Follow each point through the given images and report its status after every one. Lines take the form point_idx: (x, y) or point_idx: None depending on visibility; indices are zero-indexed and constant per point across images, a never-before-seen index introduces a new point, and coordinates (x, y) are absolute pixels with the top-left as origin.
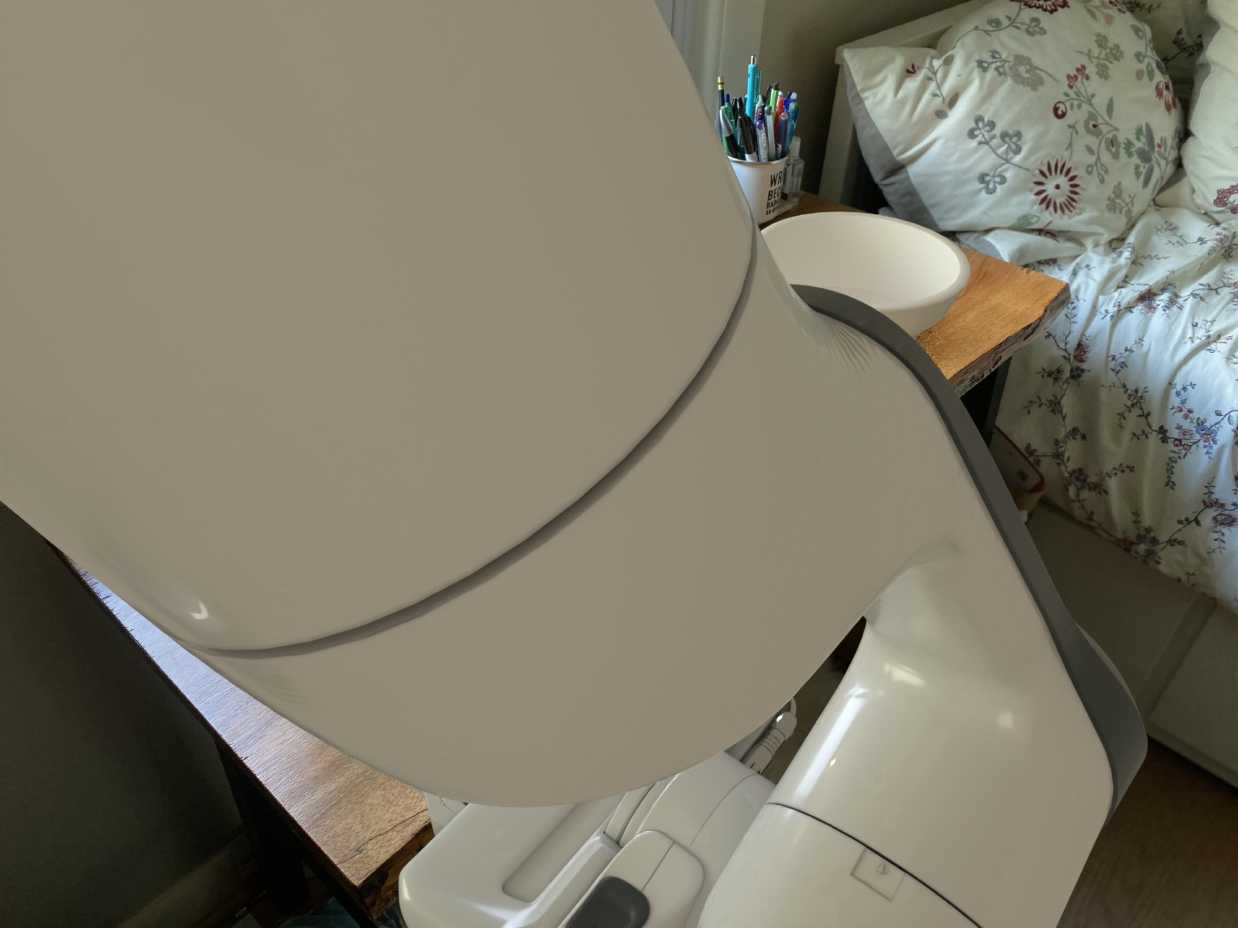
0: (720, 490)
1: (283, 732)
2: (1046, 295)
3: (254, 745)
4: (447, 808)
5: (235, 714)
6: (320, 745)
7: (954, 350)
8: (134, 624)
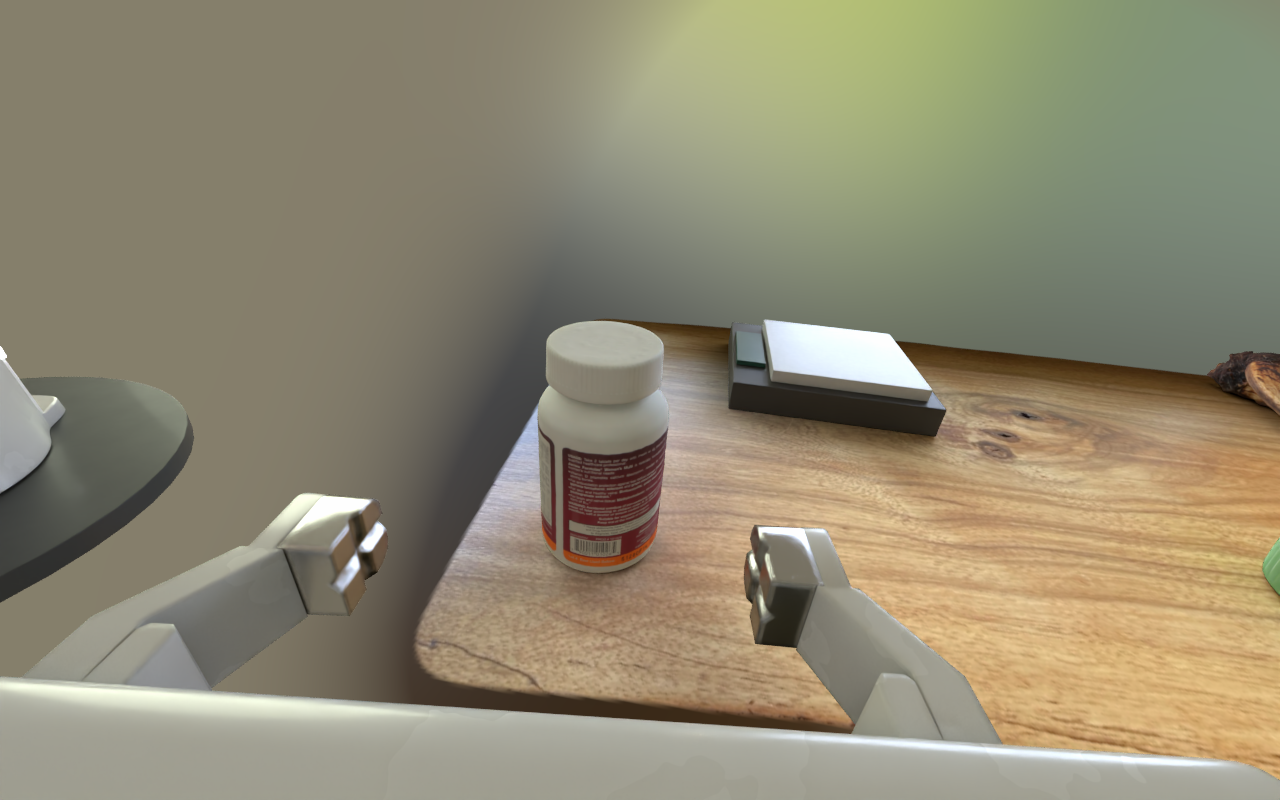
0: None
1: (536, 490)
2: None
3: (509, 482)
4: (117, 643)
5: (530, 453)
6: None
7: None
8: None
